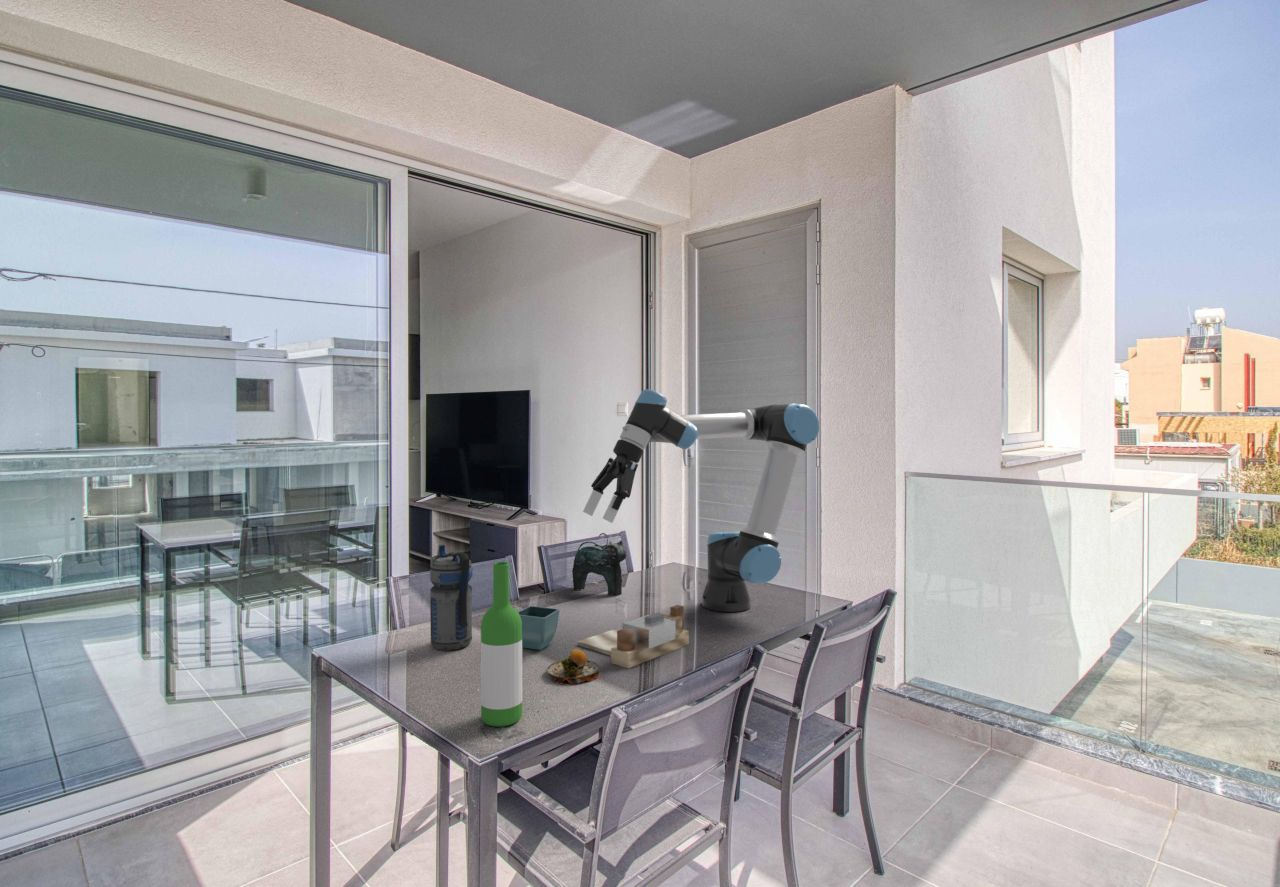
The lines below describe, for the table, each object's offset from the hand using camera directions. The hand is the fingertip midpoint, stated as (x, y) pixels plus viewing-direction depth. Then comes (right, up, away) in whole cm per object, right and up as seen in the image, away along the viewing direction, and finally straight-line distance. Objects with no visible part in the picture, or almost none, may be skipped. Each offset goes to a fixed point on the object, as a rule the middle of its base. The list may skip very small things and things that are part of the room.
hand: (597, 517), depth 177 cm
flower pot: (-15, -32, -5) cm, 36 cm away
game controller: (-3, -31, +51) cm, 59 cm away
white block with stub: (+13, -29, -11) cm, 34 cm away
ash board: (+4, -32, -3) cm, 33 cm away
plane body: (+14, -32, -10) cm, 37 cm away
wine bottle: (-15, -34, -47) cm, 60 cm away
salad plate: (-4, -33, -24) cm, 41 cm away
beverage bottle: (-36, -32, -5) cm, 49 cm away
